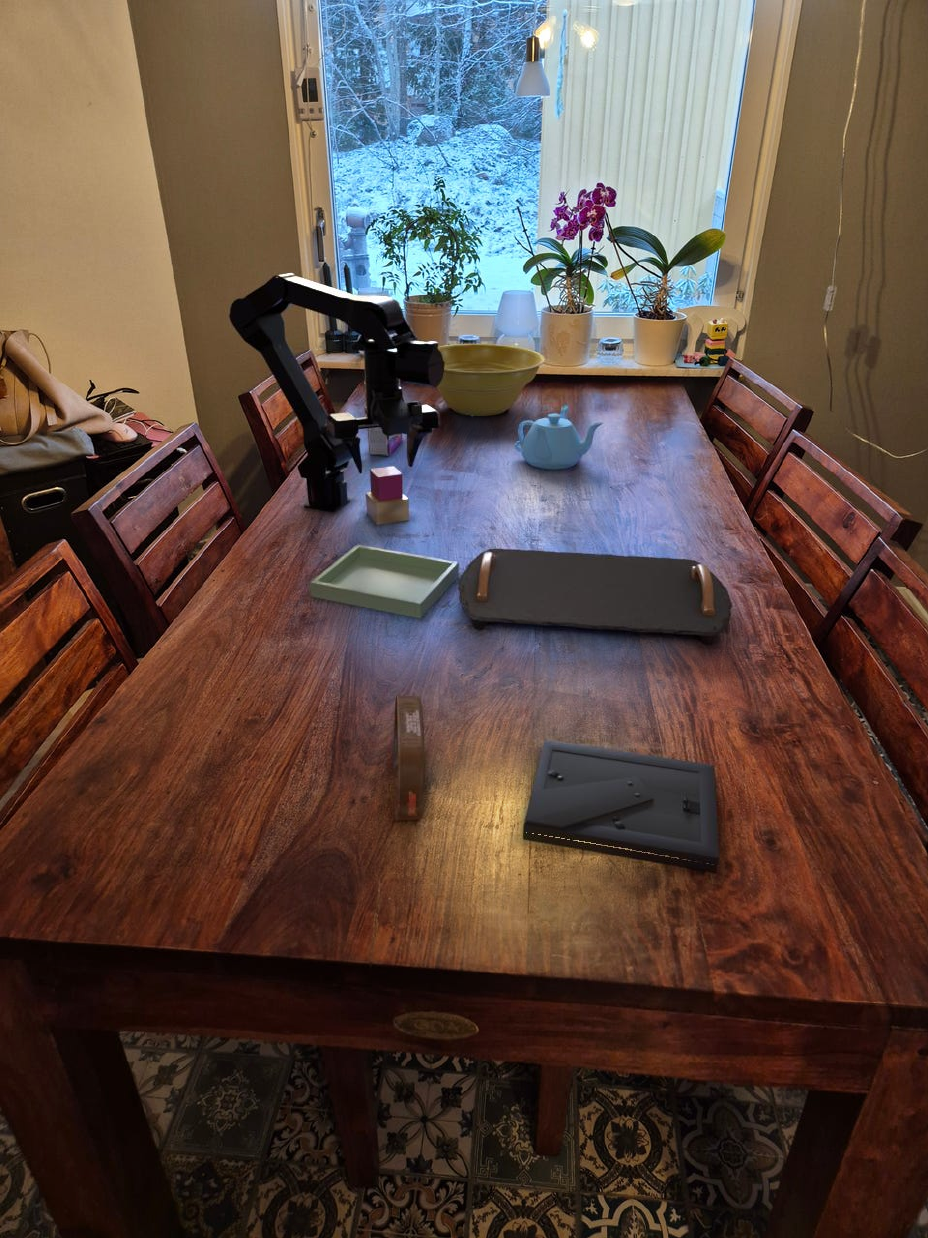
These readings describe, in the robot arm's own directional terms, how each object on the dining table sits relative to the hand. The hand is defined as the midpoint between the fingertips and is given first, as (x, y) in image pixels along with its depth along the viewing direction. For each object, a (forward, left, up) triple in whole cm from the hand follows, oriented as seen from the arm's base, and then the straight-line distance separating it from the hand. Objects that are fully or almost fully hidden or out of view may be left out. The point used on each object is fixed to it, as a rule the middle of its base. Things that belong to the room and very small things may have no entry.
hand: (385, 469), depth 143 cm
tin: (+34, -65, -9) cm, 74 cm away
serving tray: (+42, -19, -9) cm, 47 cm away
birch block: (0, 0, -9) cm, 9 cm away
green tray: (+12, -25, -9) cm, 29 cm away
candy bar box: (-18, +36, -9) cm, 41 cm away
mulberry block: (0, 0, -5) cm, 5 cm away
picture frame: (+55, -60, -9) cm, 82 cm away
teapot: (+20, +41, -9) cm, 47 cm away
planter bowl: (-10, +75, -9) cm, 76 cm away
